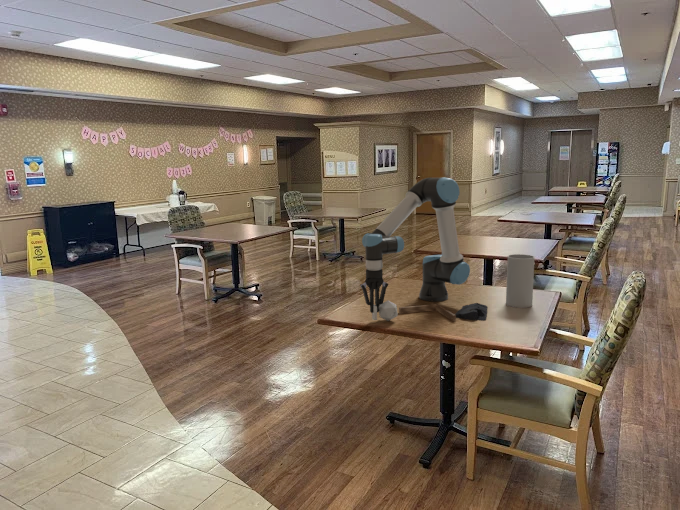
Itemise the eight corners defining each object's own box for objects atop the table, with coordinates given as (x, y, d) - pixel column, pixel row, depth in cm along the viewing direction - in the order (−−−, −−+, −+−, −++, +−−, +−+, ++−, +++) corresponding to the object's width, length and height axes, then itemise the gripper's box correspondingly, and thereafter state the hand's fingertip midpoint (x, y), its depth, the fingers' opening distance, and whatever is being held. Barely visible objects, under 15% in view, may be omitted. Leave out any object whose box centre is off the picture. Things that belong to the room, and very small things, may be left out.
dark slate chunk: (492, 310, 254) (492, 301, 254) (484, 323, 235) (485, 313, 234) (461, 307, 261) (461, 298, 260) (451, 319, 241) (451, 309, 240)
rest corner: (437, 309, 255) (437, 304, 255) (455, 321, 236) (455, 315, 236) (398, 313, 251) (398, 307, 250) (414, 325, 232) (414, 319, 231)
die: (396, 324, 234) (396, 302, 232) (377, 323, 236) (377, 302, 234) (398, 318, 242) (398, 298, 241) (379, 318, 244) (379, 297, 242)
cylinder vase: (513, 309, 254) (515, 259, 249) (501, 303, 266) (503, 254, 261) (537, 308, 255) (539, 258, 251) (524, 301, 268) (526, 253, 263)
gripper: (385, 266, 238) (385, 315, 242) (357, 268, 235) (358, 318, 239) (390, 269, 231) (390, 320, 235) (362, 271, 228) (363, 323, 232)
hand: (374, 319), depth 237 cm, fingers closed
